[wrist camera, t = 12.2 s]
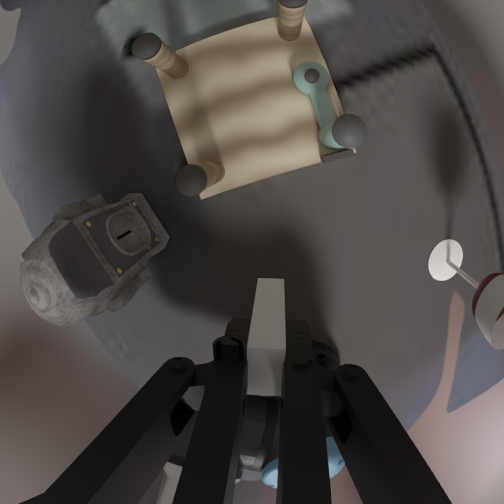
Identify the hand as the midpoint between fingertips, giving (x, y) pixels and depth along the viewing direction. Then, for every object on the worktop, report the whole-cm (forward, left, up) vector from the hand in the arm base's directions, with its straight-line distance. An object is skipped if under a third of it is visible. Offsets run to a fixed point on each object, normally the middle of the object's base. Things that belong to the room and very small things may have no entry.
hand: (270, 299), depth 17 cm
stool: (+16, -2, -26) cm, 31 cm away
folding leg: (+12, -10, -24) cm, 28 cm away
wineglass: (-16, -26, -27) cm, 41 cm away
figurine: (+4, +22, -27) cm, 35 cm away
